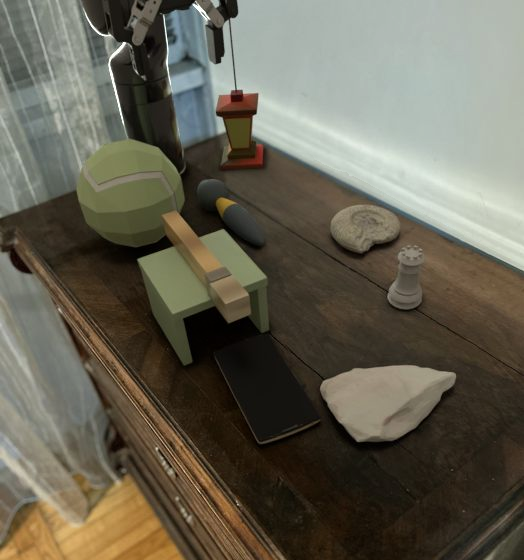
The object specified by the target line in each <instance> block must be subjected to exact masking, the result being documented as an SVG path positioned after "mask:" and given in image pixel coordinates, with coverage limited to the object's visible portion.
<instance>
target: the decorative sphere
mask: <svg viewBox="0 0 524 560" xmlns="http://www.w3.org/2000/svg"><path fill="white" fill-rule="evenodd" d="M76 184H77V185H76V190H75V191H76V195H77V200H78V204H79V206H80V209H81V212H82V215H83V217H84V220H85V224H86V225H88V227H90V228H91V229H92V230H94V231H95V232H96V233H97V234H99V235H100V236H101V237H102V238H103V239H106V241H109V242H111V243H113V244H115V245H120V246H125V247H131V248H140V247H144V246H148V245H151V244H155V243H158V242H159V241H160V240H162V239H163V238H164V237H165V236H167V235H166V233H165V228H164V224H163V219H162V215H163V214H166V213H169V212H172V211H175V210H176V211H177V212H178V213H179V215H181V211H182V209H183V206H184V204H185V201H186V197H185V192H184V186H183V181H182V176H181V177H180V175H179V173H178V171H177V169H176V167H175V166H174V165H173V164H172V163H171V161H170V160H169V159H168V158H167V157H166V156H165V155H164V154H163V152H162V151H161V150H160V149H159V148H158V147H155V146H152V145H148V144H145V143H142V142H139V141H136V140H133V139H127V138H126V139H122V140H116V141H112V142H107V143H104V144H102V145H101V147H99V148H98V149H97V150H96V151H95V152H94V153H93V154H91V155H90V157H88V158H87V159H86V160H85V161H84V165H82V166H81V168H80V172H79V176H78V181H77V183H76Z"/></svg>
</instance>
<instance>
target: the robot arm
mask: <svg viewBox="0 0 524 560" xmlns="http://www.w3.org/2000/svg"><path fill="white" fill-rule="evenodd" d="M217 1H218V6H216V7H215V5H214V3H213V2H212V0H80V3H81V5H82V9H83V11H84V15H85V17H86V19H87V21H88V22H89V24H90V26H91V27H92V29H93V30H94V31H95V32H96V33H97V34H99V35H100V36H104V37H111V38H112V39H113V40H114V41H115V42H117V43H122V45H121V46H120V47H119V48H118V49H117V50H116V51H115V52H114V53H113V54H112V55H111V56H110V58H109V61H108V68H109V73H110V77H111V81H112V86H113V88H114V92H115V93H114V94H115V97H116V100H117V104H118V108H119V113H120V116H121V120H122V124H123V125H122V126H123V129H124V133H125V137H126V139H133V140H136V141H139V142H142V143H145V144H148V145H152V146H155V147H158V148H159V149H160V150H161V151H162V152H163V154H164V155H165V156H166V157H167V158H168V159H169V160H170V161H171V163H172V164H173V165H174V166H175V167H176V169H177V171H178V173H179V175H180V177H181V178H182V177H183V176H184V175H185V173H186V171H187V165H186V161H185V157H184V155H185V148H184V147H183V146H182V139H181V135H180V129H179V122H178V117H177V112H176V111H177V110H176V106H175V100H174V95H173V89H172V83H171V78H170V72H169V66H168V57H169V45H168V37H167V30H166V29H167V28H166V22H165V21H166V20H165V15H169V14H171V13H173V12H174V11H188V10H190V7H192V6H193V7H195V8H196V9H197V10H198V11H199V13H200V14H201V15H202V16H203V17H204V19H205V21H206V23H207V24H204V29H205V30H204V31H205V37H206V47H207V56H208V59H209V61H210V62H211V63H212V64H214V65H218V64H222V58H224V57H225V52H226V49H225V48H226V47H225V37H224V26H225V23H227V22H228V21H229V19H230V20H231V19H236V18H237V17H238V15H239V5H238V0H217Z"/></svg>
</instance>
